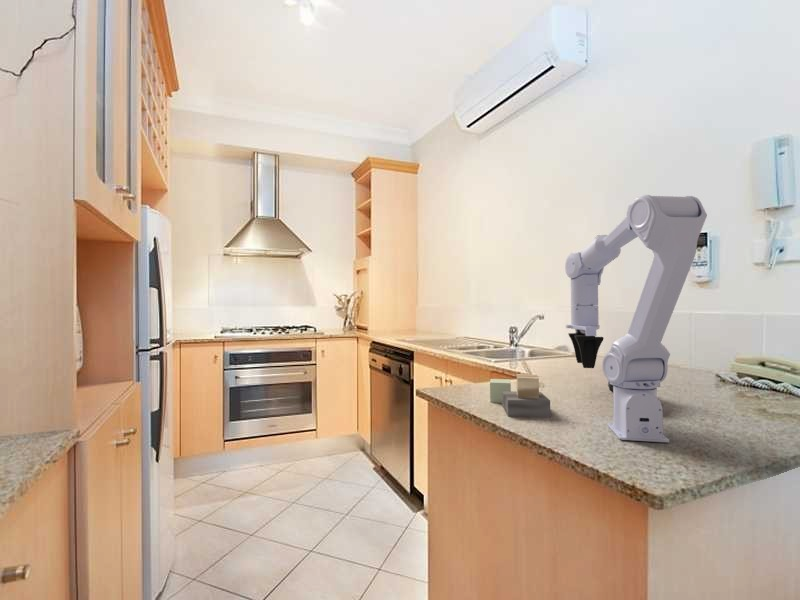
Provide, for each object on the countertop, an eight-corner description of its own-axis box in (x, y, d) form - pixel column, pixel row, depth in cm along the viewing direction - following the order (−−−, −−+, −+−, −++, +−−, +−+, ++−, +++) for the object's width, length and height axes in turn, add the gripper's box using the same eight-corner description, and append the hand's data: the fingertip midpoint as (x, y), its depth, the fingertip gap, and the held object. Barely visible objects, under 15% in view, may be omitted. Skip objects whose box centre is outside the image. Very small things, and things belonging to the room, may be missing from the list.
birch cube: (538, 398, 93) (538, 378, 93) (517, 397, 94) (517, 377, 94) (536, 394, 97) (536, 374, 97) (516, 393, 98) (516, 374, 98)
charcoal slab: (550, 419, 91) (550, 400, 91) (508, 418, 92) (507, 400, 92) (540, 408, 100) (540, 391, 100) (502, 408, 100) (502, 391, 100)
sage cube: (510, 403, 104) (510, 383, 104) (490, 402, 105) (490, 382, 105) (510, 398, 108) (510, 379, 108) (490, 397, 110) (490, 378, 110)
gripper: (561, 305, 103) (562, 360, 103) (570, 306, 89) (571, 369, 89) (592, 305, 102) (593, 361, 102) (606, 306, 88) (607, 370, 88)
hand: (585, 365), depth 95 cm, fingers open, 7 cm apart
